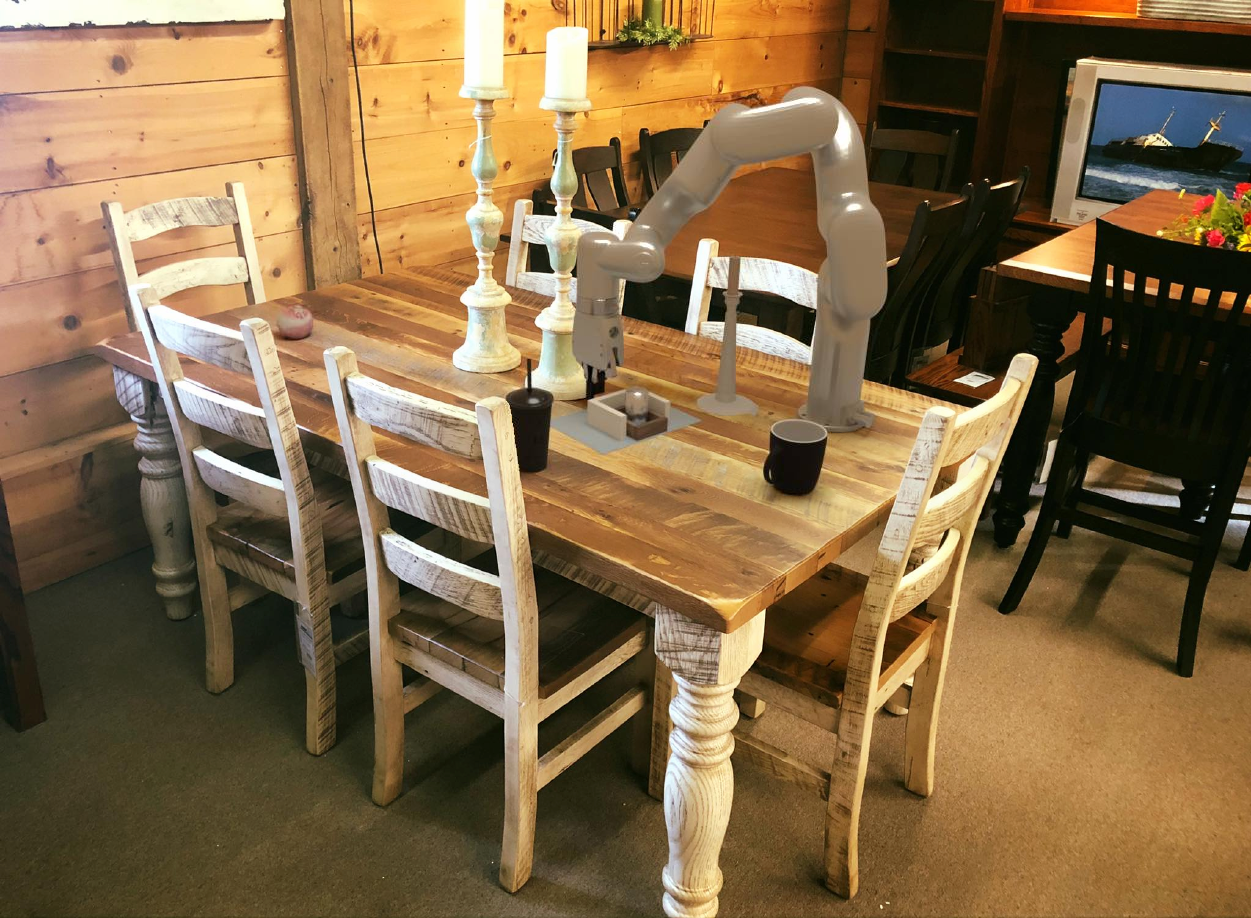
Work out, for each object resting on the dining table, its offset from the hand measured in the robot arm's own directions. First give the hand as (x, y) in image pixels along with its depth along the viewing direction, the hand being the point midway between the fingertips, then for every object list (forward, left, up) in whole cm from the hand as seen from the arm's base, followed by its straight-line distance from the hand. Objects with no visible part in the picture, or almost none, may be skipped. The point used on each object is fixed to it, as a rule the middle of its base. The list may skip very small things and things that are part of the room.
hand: (595, 399), depth 194 cm
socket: (-11, 0, -2) cm, 12 cm away
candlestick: (-13, -21, -3) cm, 25 cm away
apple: (+74, +24, -3) cm, 78 cm away
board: (-8, 0, -3) cm, 8 cm away
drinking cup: (-12, +23, -3) cm, 27 cm away
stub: (-11, 0, -2) cm, 12 cm away
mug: (-42, -6, -3) cm, 43 cm away
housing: (-8, 0, -2) cm, 8 cm away
